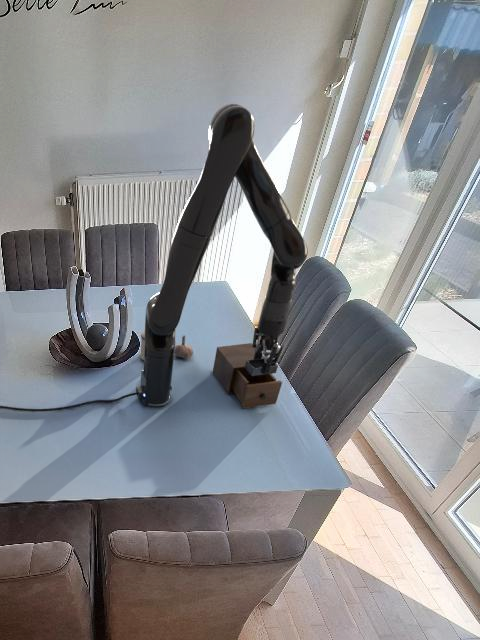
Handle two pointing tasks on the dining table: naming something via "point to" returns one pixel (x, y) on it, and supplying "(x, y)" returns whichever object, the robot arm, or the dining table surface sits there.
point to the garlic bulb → (183, 350)
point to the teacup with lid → (142, 344)
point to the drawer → (255, 388)
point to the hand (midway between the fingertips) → (260, 368)
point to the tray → (258, 367)
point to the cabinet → (231, 362)
